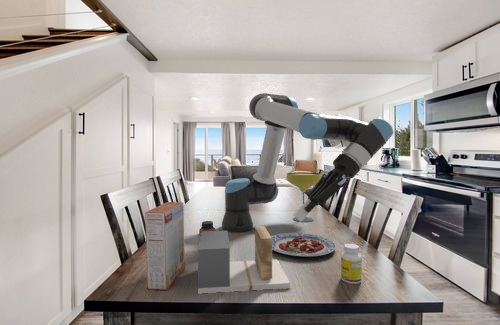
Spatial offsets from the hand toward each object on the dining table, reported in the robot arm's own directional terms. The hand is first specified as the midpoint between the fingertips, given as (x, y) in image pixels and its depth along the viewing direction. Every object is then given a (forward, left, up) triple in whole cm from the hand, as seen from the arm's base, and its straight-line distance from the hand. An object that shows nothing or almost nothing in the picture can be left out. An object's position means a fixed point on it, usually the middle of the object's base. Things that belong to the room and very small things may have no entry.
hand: (297, 218), depth 80 cm
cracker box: (-30, -22, -17) cm, 41 cm away
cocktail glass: (-22, +64, -17) cm, 70 cm away
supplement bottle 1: (-33, -1, -17) cm, 38 cm away
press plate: (-8, -7, -15) cm, 18 cm away
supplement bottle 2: (+15, +5, -17) cm, 23 cm away
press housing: (-12, -10, -17) cm, 23 cm away
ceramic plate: (-7, +22, -17) cm, 29 cm away
